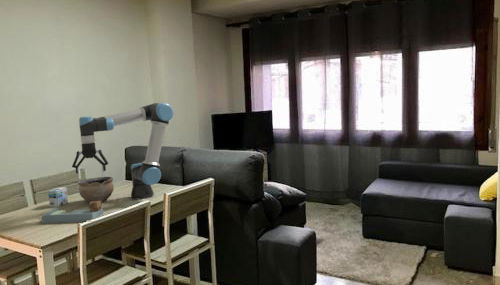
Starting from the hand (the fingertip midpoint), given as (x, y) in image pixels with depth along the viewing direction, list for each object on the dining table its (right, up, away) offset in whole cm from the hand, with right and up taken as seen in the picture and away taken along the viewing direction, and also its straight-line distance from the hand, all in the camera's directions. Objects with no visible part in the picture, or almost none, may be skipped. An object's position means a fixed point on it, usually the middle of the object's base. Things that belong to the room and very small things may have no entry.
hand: (91, 177), depth 251 cm
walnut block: (+4, -19, -5) cm, 20 cm away
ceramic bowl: (-7, -18, +29) cm, 35 cm away
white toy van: (-31, -20, +25) cm, 45 cm away
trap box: (-7, -23, -8) cm, 25 cm away
